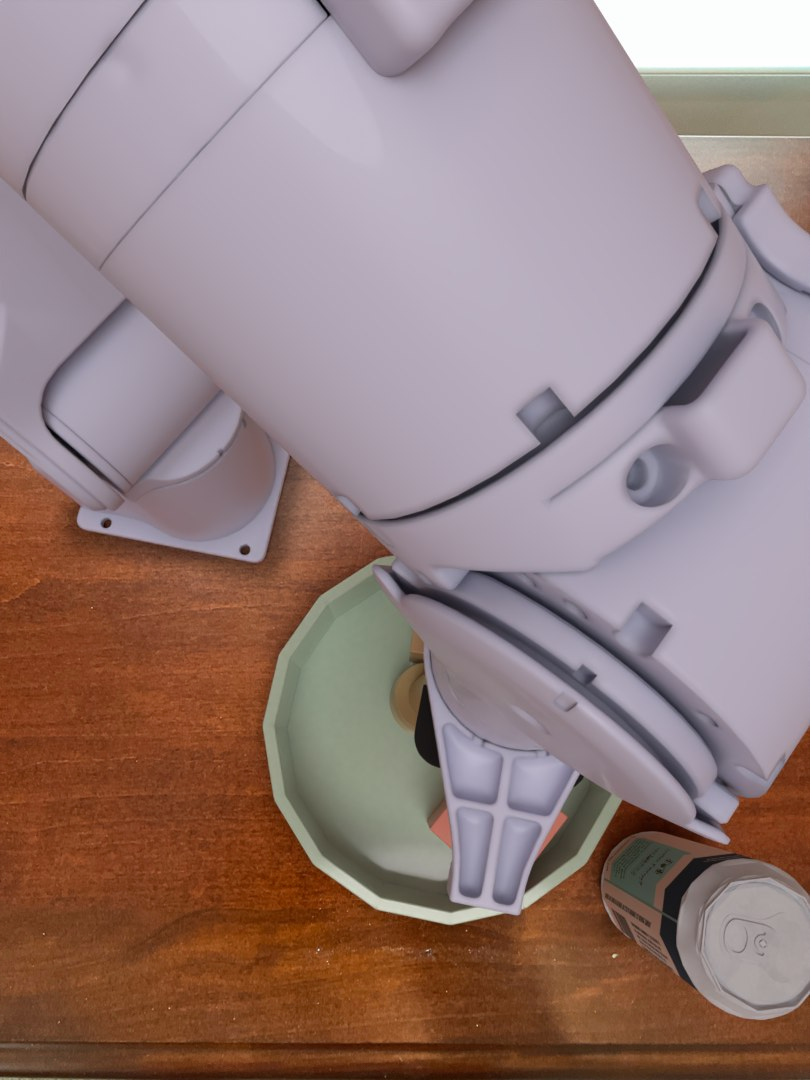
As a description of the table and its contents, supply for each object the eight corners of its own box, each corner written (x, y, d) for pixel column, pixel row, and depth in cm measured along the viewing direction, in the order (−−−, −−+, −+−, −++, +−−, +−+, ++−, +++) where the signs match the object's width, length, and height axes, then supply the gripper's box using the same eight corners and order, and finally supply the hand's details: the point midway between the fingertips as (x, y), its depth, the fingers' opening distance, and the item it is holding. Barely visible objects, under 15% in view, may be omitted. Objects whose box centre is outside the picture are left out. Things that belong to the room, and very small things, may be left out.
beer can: (697, 955, 37) (835, 1045, 25) (591, 931, 37) (678, 1010, 26) (709, 842, 38) (846, 879, 26) (606, 820, 38) (695, 847, 27)
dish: (248, 862, 38) (226, 878, 33) (320, 546, 41) (310, 518, 37) (577, 931, 37) (603, 957, 32) (620, 604, 41) (650, 584, 36)
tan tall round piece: (378, 680, 38) (434, 634, 31) (440, 658, 39) (507, 608, 32) (404, 747, 37) (468, 716, 30) (466, 722, 38) (541, 687, 31)
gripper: (679, 980, 19) (564, 888, 32) (740, 394, 22) (614, 529, 36) (371, 915, 19) (383, 851, 32) (480, 347, 23) (450, 498, 36)
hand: (492, 679), depth 34 cm, fingers closed on tan tall round piece, 2 cm apart
